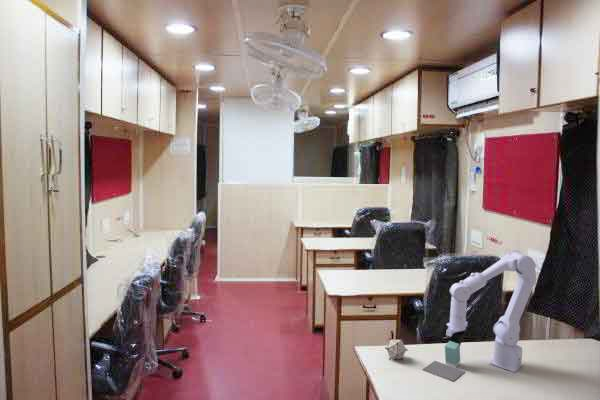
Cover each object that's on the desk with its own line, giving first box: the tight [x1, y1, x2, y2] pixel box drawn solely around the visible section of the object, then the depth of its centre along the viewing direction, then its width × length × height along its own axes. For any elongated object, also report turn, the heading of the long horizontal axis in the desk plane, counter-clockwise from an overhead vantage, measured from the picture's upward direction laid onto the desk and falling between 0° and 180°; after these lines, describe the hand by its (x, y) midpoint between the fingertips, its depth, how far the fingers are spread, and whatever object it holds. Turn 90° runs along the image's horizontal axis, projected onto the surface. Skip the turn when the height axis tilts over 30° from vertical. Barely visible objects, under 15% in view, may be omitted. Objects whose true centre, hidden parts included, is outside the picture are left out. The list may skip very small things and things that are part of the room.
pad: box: [422, 360, 466, 382], centre depth 169 cm, size 12×10×1 cm
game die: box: [384, 337, 409, 362], centre depth 178 cm, size 9×8×10 cm
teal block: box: [444, 340, 461, 368], centre depth 174 cm, size 4×4×8 cm
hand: (455, 348), depth 176 cm, fingers closed
